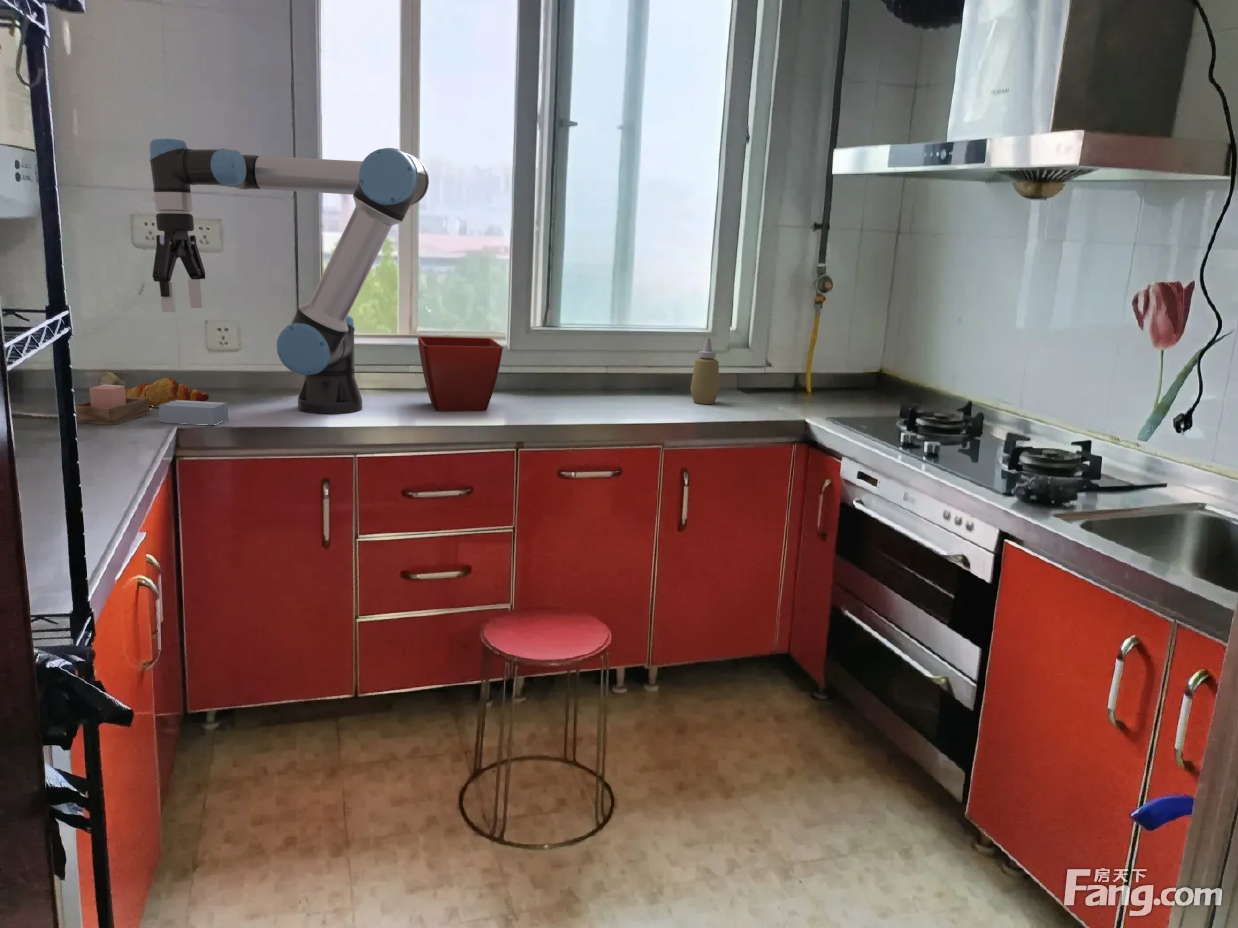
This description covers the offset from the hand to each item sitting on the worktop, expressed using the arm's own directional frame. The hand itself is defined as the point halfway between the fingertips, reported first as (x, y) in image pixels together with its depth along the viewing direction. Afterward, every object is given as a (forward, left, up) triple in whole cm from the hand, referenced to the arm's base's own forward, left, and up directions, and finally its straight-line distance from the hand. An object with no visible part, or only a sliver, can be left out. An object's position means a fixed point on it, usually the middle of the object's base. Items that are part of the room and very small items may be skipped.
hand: (183, 310), depth 219 cm
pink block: (+12, +12, -23) cm, 28 cm away
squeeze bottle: (-120, -55, -24) cm, 134 cm away
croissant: (+10, -8, -24) cm, 27 cm away
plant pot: (-57, -26, -24) cm, 67 cm away
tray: (+12, +12, -23) cm, 29 cm away
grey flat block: (-7, +11, -23) cm, 26 cm away
